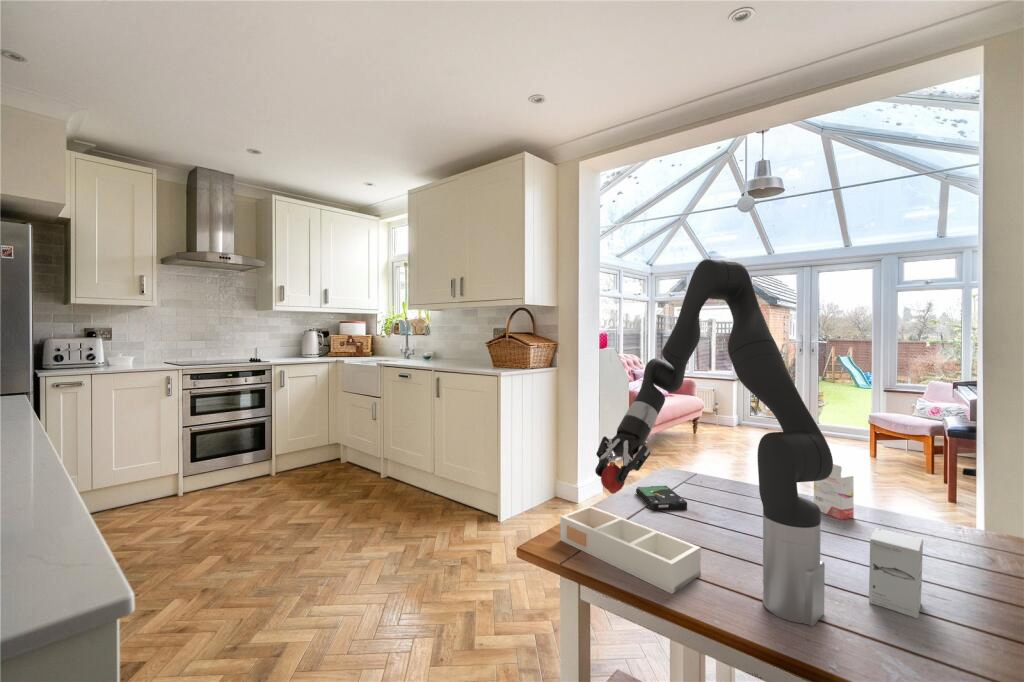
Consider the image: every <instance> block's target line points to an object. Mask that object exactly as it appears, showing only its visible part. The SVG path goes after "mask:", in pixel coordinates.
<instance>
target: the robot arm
mask: <svg viewBox="0 0 1024 682" xmlns="http://www.w3.org/2000/svg"><path fill="white" fill-rule="evenodd" d="M754 288H755V287H754V286H753V283H752V279H751V276H750V274H749V271H748V270H747V268H746V267H745V265H744V264H742V263H741V262H740V261H737V260H728V259H721V258H705V259H703V260H701V261H699V263H698V264H697V265H696V267H695V269H694V270H693V273H692V276H691V278H690V280H689V283H688V286H687V290H686V292H685V295H684V298H683V300H682V301H683V302H682V305H681V308H680V310H679V314H678V317H677V320H676V323H675V325H674V327H673V329H672V332H671V333H670V335H669V337H668V339H667V341H666V342H665V344H664V345H663V348H662V350H661V354H662V358H664V360H663V359H661V358H658V357H655V358H652V359H650V360H649V361H647V364H645V368H644V371H643V377H642V382H641V383H642V384H641V385H640V389H639V391H638V393H637V395H636V397H635V399H634V400H633V402H632V403H631V405H630V406H629V407H628V409H627V410H626V413H625V414H624V416H623V417H622V420H621V422H620V423H619V426H618V427H617V429H616V434H615V436H614V437H612V438H608V437H607V436H603V437H602V439H601V442H600V444H599V446H598V449H597V451H596V454H595V455H596V456H597V458H599V462H598V463H597V465H596V467H595V474H596V475H597V476H598V478H599V477H600V478H601V474H602V472H603V470H604V469H605V468H606V467H607V466H609V465H610V462H613V461H615V460H617V459H618V458H623V465H621V466H620V467H619V468H620V470H619V472H618V474H617V476H616V478H615V479H616V480H617V482H618V483H622V482H624V481H625V482H626V479H627V477H628V475H629V473H630V472H632V471H635V472H639V470H641V468H642V466H643V465H644V463H645V462H646V460H648V458H649V457H650V455H651V451H650V448H648V447H647V446H646V445H644V444H645V443H646V441H647V439H648V437H649V435H650V433H651V432H652V430H653V428H654V426H655V423H656V421H657V418H658V416H659V413H660V412H661V410H662V409H663V407H664V404H665V402H666V397H665V394H663V392H661V391H660V389H662V390H663V391H665V392H668V393H675V392H678V390H681V387H682V386H683V383H684V379H685V374H686V368H687V365H688V363H689V360H690V358H691V356H692V355H693V353H694V351H695V349H696V348H697V346H698V345H699V342H700V340H701V324H700V315H701V314H700V313H701V310H702V308H703V306H704V305H705V303H706V302H707V301H708V300H709V299H710V300H718V301H719V300H723V301H725V303H726V304H727V306H728V308H729V311H730V313H731V316H732V321H733V322H732V327H731V330H730V334H729V338H728V342H727V353H728V356H729V359H730V361H731V364H732V366H733V369H734V372H735V375H736V376H737V378H738V380H739V381H740V383H741V384H742V385H743V386H744V387H745V388H746V389H747V390H748V391H749V392H750V393H752V395H754V397H756V398H757V399H758V400H759V401H760V402H761V403H762V404H764V405H765V406H766V408H768V409H769V410H770V412H771V413H772V415H774V417H775V419H776V420H777V422H778V424H779V425H780V428H781V430H782V431H773V432H767V433H765V434H764V435H763V436H762V437H761V439H759V443H758V446H757V470H758V471H757V473H758V489H759V491H758V492H759V497H760V500H761V504H762V513H763V514H762V604H763V606H764V607H765V608H766V610H767V611H769V612H770V613H771V614H773V615H775V616H777V617H778V618H780V619H783V620H786V621H789V622H793V623H799V624H805V625H808V626H810V627H814V626H815V625H816V623H817V622H818V621H819V620H820V619H821V618H822V617H823V616H824V614H825V587H826V586H825V574H826V573H825V570H826V568H825V565H826V564H825V562H824V561H821V544H822V543H821V536H822V535H821V534H822V533H821V532H822V531H821V528H822V527H821V526H822V523H821V522H822V521H821V520H822V517H821V516H822V514H821V513H822V512H821V511H820V508H819V507H818V506H817V505H816V504H815V503H814V501H812V500H809V499H807V498H804V497H803V496H800V495H799V493H798V483H808V482H809V483H810V482H814V481H820V480H824V479H826V478H828V477H829V475H830V474H831V472H832V469H833V464H834V463H833V461H834V460H833V455H832V451H831V448H830V447H829V444H828V442H827V440H826V438H825V436H824V434H823V432H822V431H821V429H820V428H819V426H818V425H817V423H816V420H815V419H814V418H813V416H812V415H811V413H810V411H809V409H808V407H807V406H806V405H805V403H804V401H803V399H802V397H801V395H800V392H799V391H798V389H797V386H796V385H795V383H794V381H793V378H792V376H791V374H790V372H789V369H788V368H787V366H786V362H785V361H784V358H783V356H782V354H781V352H780V349H779V346H778V344H777V343H776V341H775V339H774V337H773V335H772V333H771V331H770V328H769V326H768V324H767V321H766V319H765V317H764V315H763V312H762V309H761V307H760V304H759V302H758V299H757V298H758V297H757V295H756V292H755V289H754ZM657 387H658V388H660V389H658V388H657Z"/></svg>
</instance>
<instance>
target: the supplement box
mask: <svg viewBox="0 0 1024 682" xmlns="http://www.w3.org/2000/svg"><path fill="white" fill-rule="evenodd" d="M869 541H870V542H869V572H868V573H869V577H868V578H869V580H868V581H869V582H868V583H869V584H868V604H871V605H877V606H880V607H882V608H885V609H889V610H892V611H894V612H897V613H900V614H904V615H906V616H909V617H911V618H915V619H919V615H920V609H921V605H922V604H921V603H922V589H923V588H922V585H923V548H924V539H923V538H921V537H916V536H912V535H907V534H903V533H899V532H895V531H891V530H887V529H882V528H878V527H874V530H873V532H872V534H871V537H870V539H869Z"/></svg>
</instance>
